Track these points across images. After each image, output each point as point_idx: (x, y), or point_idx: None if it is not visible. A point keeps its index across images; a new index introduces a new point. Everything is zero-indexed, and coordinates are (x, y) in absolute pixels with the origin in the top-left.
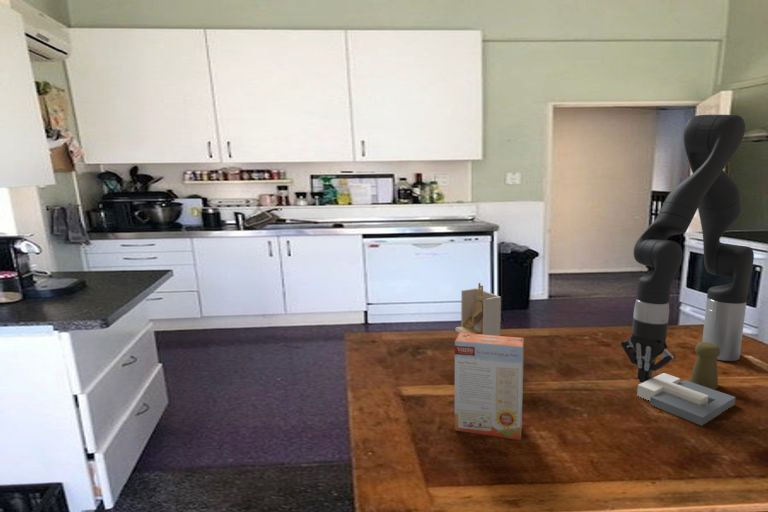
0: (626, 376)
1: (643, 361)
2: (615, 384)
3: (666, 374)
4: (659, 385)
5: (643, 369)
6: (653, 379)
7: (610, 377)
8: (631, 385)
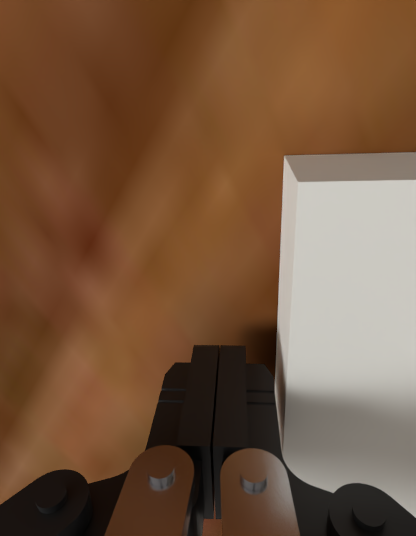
0: (32, 276)
1: (144, 526)
2: (98, 437)
3: (345, 201)
4: (399, 482)
5: (211, 510)
6: (308, 420)
7: (3, 377)
8: (159, 380)
